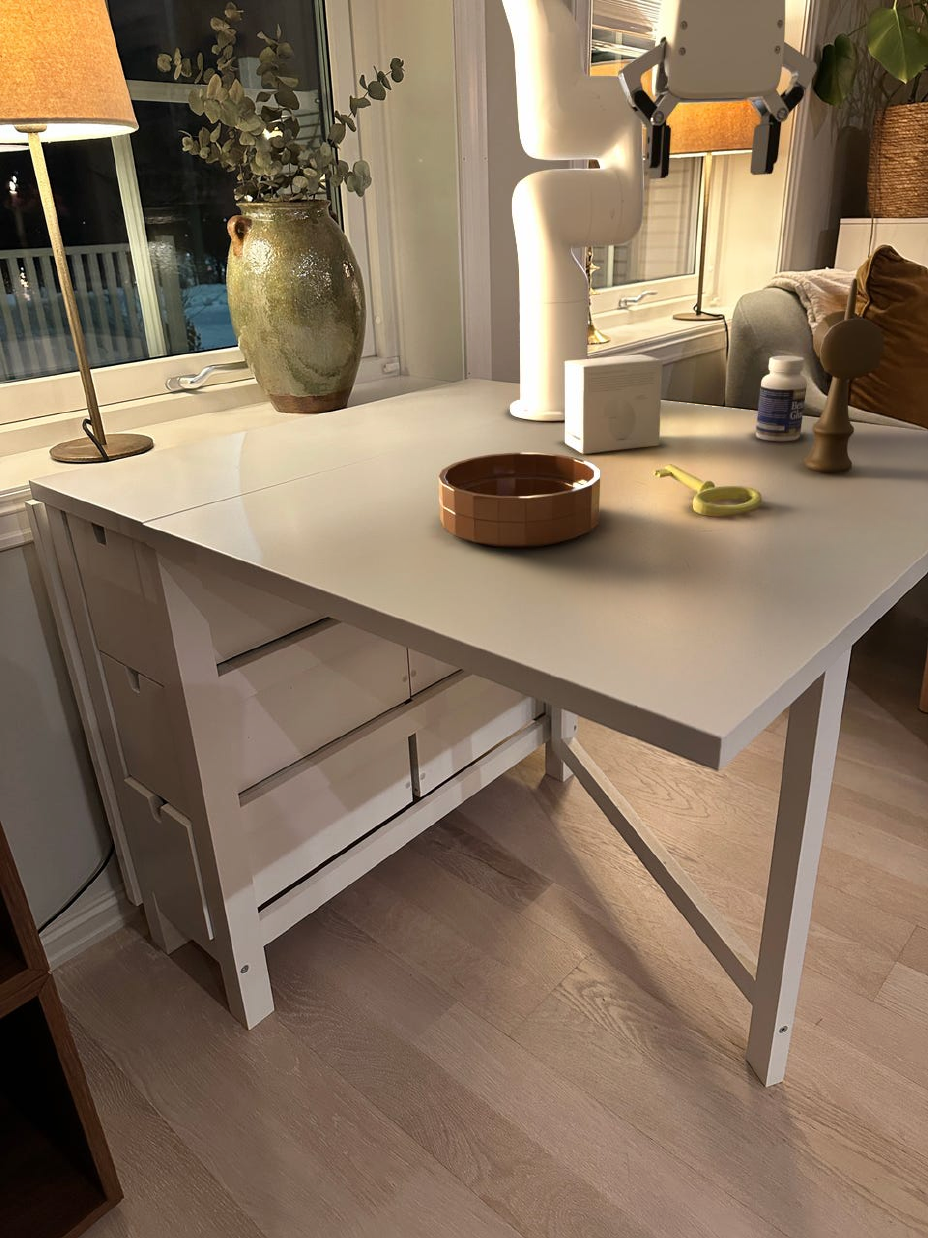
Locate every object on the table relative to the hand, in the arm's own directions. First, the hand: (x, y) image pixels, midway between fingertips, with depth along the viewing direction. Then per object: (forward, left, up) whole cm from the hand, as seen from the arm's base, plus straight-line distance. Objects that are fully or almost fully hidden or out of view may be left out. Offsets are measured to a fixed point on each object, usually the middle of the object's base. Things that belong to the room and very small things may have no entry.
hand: (710, 176), depth 79 cm
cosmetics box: (-23, 0, -30) cm, 38 cm away
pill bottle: (-20, +21, -30) cm, 41 cm away
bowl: (+3, -18, -30) cm, 35 cm away
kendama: (-5, +19, -30) cm, 36 cm away
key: (+1, +2, -30) cm, 30 cm away
